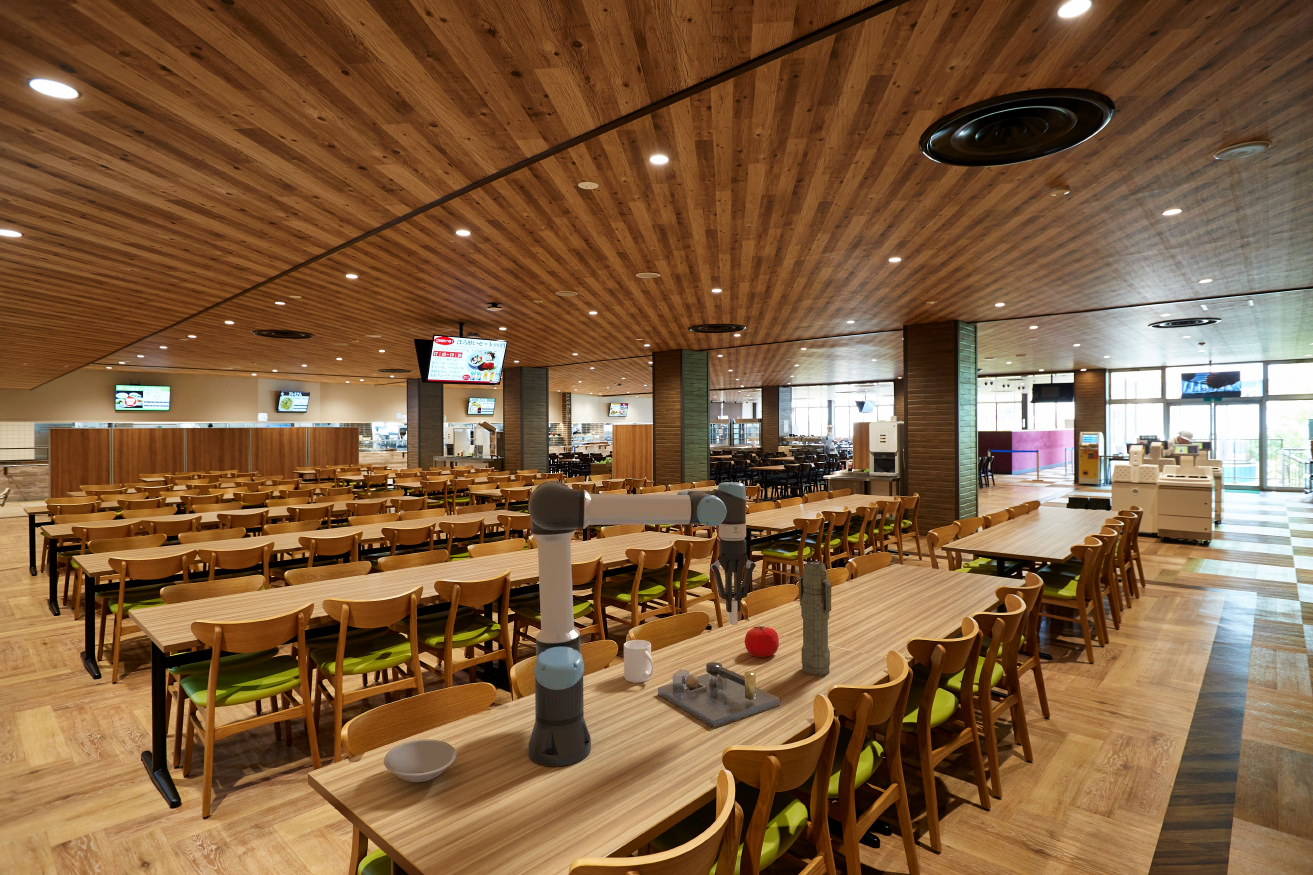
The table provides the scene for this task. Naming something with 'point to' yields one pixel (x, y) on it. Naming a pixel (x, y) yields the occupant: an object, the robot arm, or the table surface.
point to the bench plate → (715, 699)
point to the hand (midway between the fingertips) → (733, 623)
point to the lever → (734, 678)
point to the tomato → (761, 641)
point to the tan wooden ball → (692, 681)
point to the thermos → (815, 618)
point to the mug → (637, 661)
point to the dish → (420, 759)
